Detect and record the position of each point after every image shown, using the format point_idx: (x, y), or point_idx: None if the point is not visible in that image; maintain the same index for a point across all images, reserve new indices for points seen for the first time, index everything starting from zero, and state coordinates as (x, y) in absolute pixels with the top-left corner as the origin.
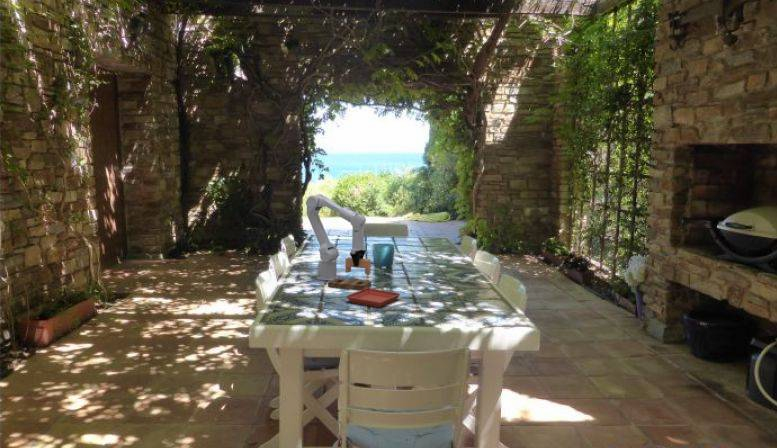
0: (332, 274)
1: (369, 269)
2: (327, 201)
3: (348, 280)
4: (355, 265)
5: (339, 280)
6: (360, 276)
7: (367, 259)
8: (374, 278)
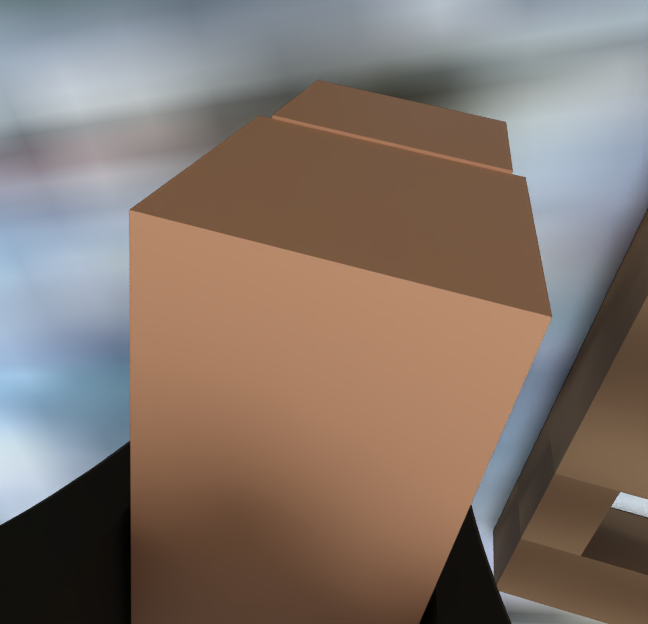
0: None
1: (375, 123)
2: None
3: (643, 439)
4: None
5: (581, 540)
6: (27, 262)
7: (232, 349)
8: (50, 12)
